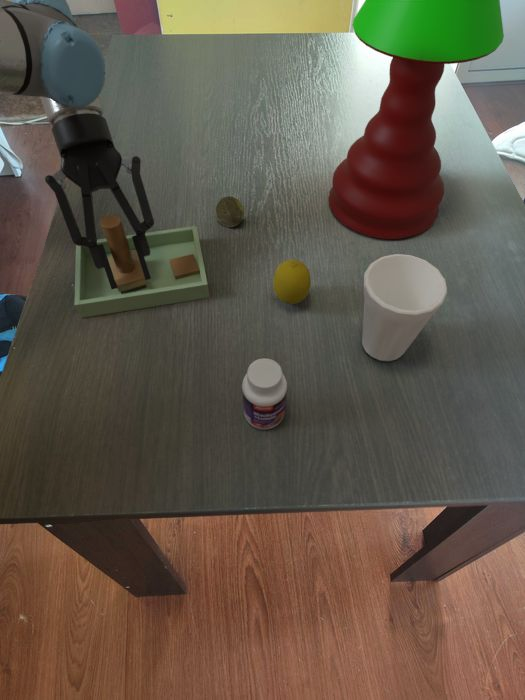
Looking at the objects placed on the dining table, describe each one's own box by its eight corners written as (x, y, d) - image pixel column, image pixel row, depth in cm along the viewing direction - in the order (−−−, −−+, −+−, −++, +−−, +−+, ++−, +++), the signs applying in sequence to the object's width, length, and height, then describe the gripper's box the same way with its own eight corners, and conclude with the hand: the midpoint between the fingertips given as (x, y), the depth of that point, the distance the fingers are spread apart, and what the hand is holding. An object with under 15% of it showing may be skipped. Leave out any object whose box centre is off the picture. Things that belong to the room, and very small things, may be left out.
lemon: (290, 281, 74) (293, 243, 68) (316, 301, 72) (321, 263, 65) (265, 299, 72) (265, 262, 65) (290, 320, 70) (293, 283, 63)
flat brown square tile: (175, 279, 74) (174, 276, 73) (170, 262, 76) (169, 259, 75) (200, 273, 74) (199, 270, 74) (194, 257, 77) (193, 253, 76)
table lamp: (406, 164, 92) (501, -177, 55) (458, 228, 81) (619, -143, 44) (312, 182, 89) (346, -167, 52) (353, 251, 78) (433, -128, 41)
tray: (80, 318, 70) (74, 305, 68) (82, 256, 78) (76, 242, 75) (209, 297, 72) (207, 284, 70) (198, 239, 80) (196, 225, 77)
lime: (246, 229, 81) (245, 205, 77) (218, 232, 81) (216, 208, 77) (242, 212, 84) (241, 189, 80) (216, 215, 83) (213, 191, 79)
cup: (342, 319, 70) (356, 255, 59) (408, 315, 70) (434, 250, 59) (355, 376, 64) (373, 316, 53) (426, 371, 64) (459, 311, 54)
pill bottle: (253, 437, 59) (252, 399, 51) (237, 402, 62) (233, 362, 54) (292, 421, 60) (296, 382, 52) (274, 388, 63) (276, 346, 55)
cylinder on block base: (120, 295, 72) (99, 240, 62) (112, 267, 75) (90, 211, 66) (148, 287, 73) (131, 231, 63) (138, 260, 76) (121, 203, 67)
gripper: (139, 118, 70) (185, 269, 75) (19, 142, 67) (75, 299, 71) (139, 99, 63) (190, 267, 68) (5, 125, 59) (68, 301, 64)
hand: (131, 283), depth 69 cm, fingers closed on cylinder on block base, 4 cm apart
